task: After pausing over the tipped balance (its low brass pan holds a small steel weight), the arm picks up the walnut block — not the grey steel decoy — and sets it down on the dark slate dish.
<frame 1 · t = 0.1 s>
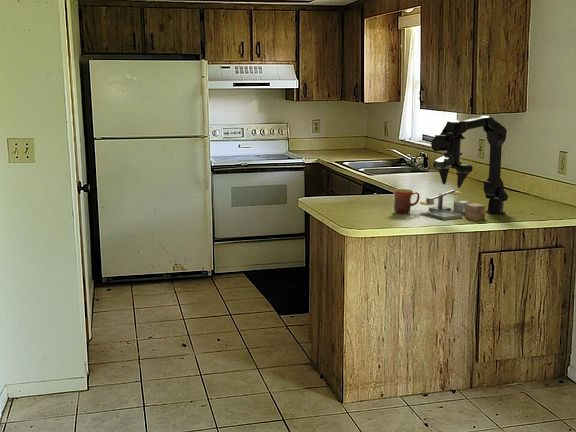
hand: (451, 186, 304), 15 cm above the countertop, fingers open, 9 cm apart
slate dish: (444, 216, 312), on the countertop
mug: (405, 213, 319), on the countertop
walnut block: (474, 218, 309), on the countertop
balance: (439, 210, 324), on the countertop
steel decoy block: (461, 212, 322), on the countertop
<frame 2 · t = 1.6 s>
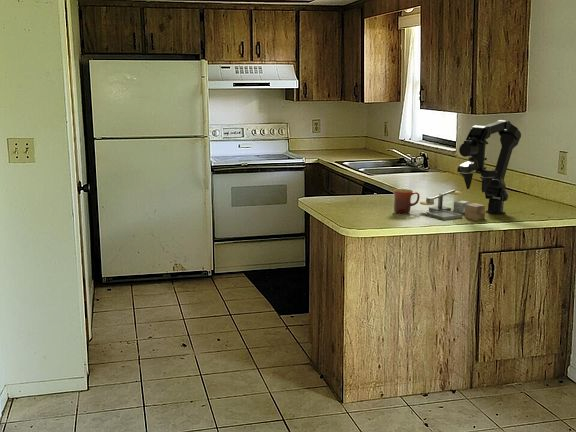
hand: (475, 190, 307), 12 cm above the countertop, fingers open, 9 cm apart
nothing on the countertop moved.
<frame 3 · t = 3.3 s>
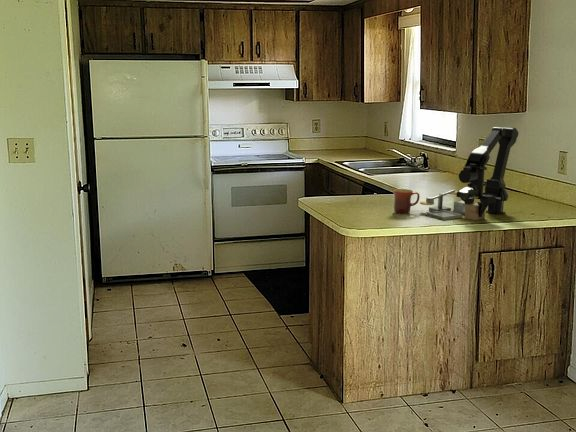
hand: (474, 215, 309), 1 cm above the countertop, fingers closed on walnut block, 6 cm apart
walnut block: (474, 218, 309), on the countertop, touching gripper
everything else where it was.
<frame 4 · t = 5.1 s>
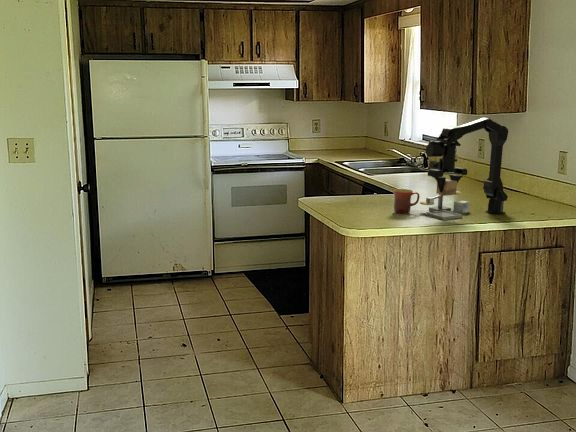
hand: (446, 191, 309), 11 cm above the countertop, fingers closed on walnut block, 6 cm apart
walnut block: (446, 193, 309), point 10 cm above the countertop, touching gripper
everything else where it was.
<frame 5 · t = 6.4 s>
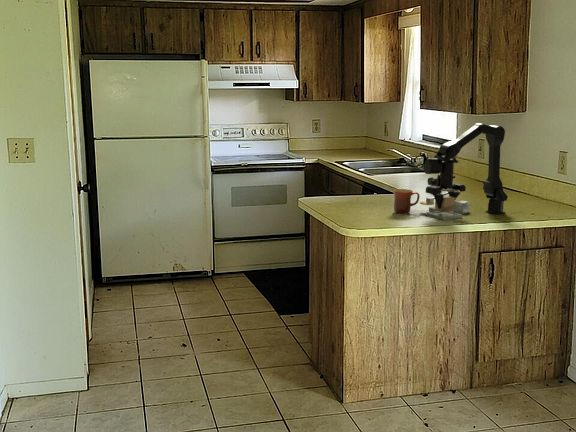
hand: (444, 208, 311), 4 cm above the countertop, fingers closed on walnut block, 6 cm apart
walnut block: (444, 210, 311), point 3 cm above the countertop, touching gripper
everything else where it was.
when the fingers open (3 cm above the countertop, at t = 7.0 s): walnut block drops 1 cm, resting on slate dish.
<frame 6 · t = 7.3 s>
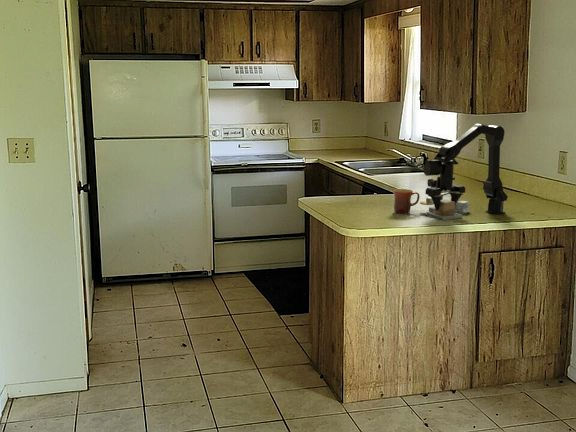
hand: (444, 209, 311), 3 cm above the countertop, fingers open, 9 cm apart
walnut block: (444, 214, 311), point 1 cm above the countertop, touching slate dish
everything else where it was.
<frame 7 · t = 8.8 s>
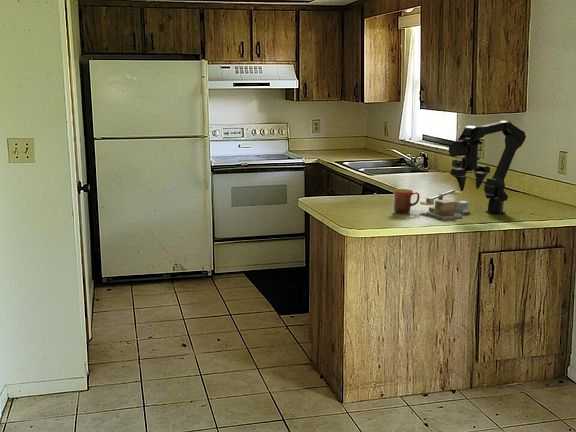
hand: (469, 189, 312), 12 cm above the countertop, fingers open, 9 cm apart
nothing on the countertop moved.
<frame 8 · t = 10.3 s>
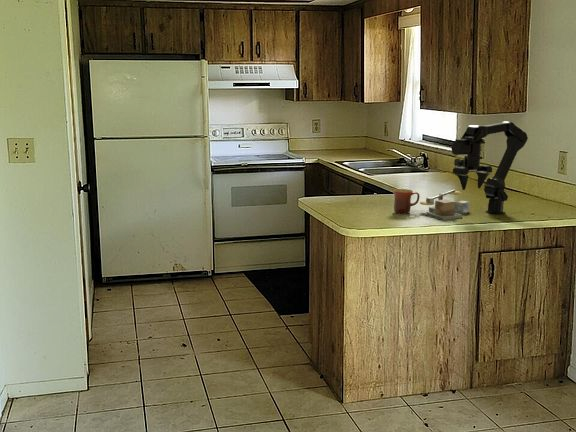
hand: (471, 189, 312), 12 cm above the countertop, fingers open, 9 cm apart
nothing on the countertop moved.
at the end: walnut block inside the target area on the slate dish (0.1 cm from its centre), point 1.0 cm above the slate dish's base; walnut block tilted 0°; the gripper is holding nothing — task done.
